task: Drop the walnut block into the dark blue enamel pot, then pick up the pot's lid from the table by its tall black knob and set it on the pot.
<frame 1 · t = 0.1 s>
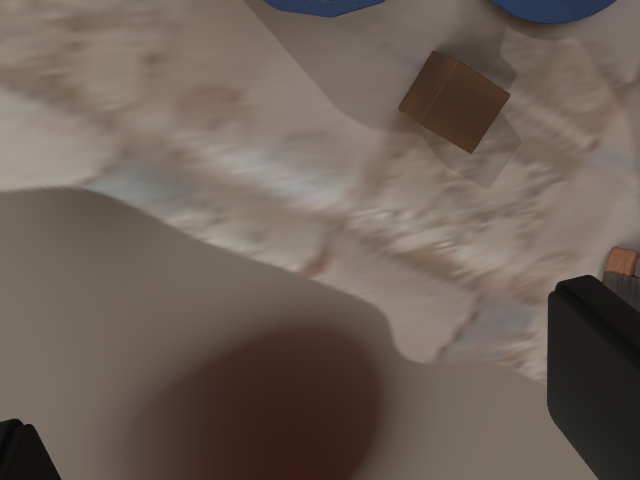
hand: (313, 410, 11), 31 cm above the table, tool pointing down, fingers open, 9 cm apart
block: (439, 95, 41), on the table
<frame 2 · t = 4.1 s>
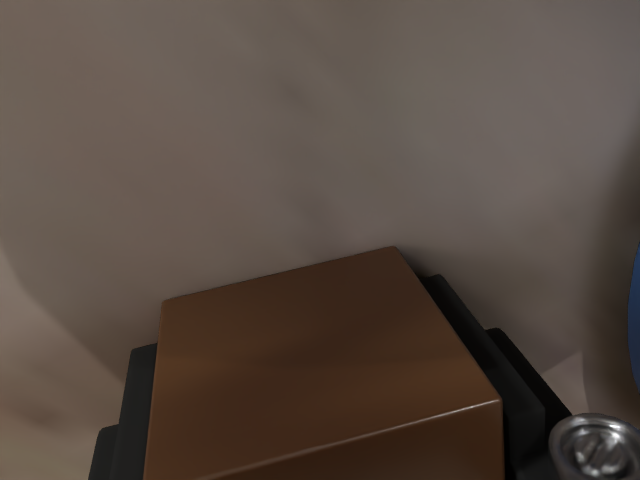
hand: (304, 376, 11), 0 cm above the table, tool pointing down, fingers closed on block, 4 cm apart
block: (301, 365, 12), on the table, touching gripper
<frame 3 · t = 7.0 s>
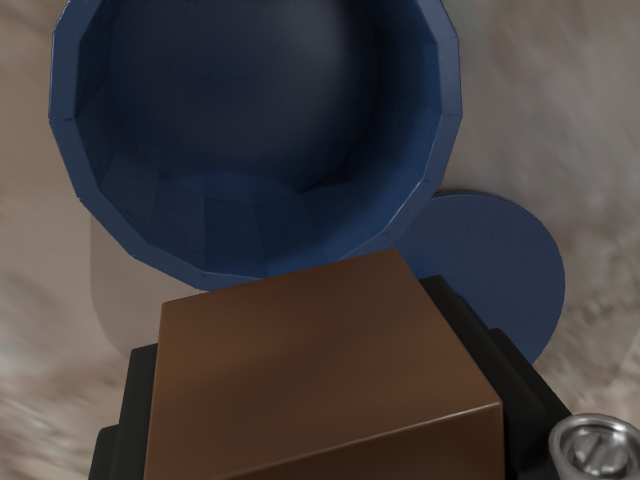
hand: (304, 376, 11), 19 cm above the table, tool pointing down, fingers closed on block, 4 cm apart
pot: (248, 76, 27), on the table
block: (302, 367, 12), point 19 cm above the table, touching gripper
lid: (441, 311, 34), point 1 cm above the table
when the fingers open (6 cm above the table, at t = 10.4 s): block drops 5 cm, resting on pot.
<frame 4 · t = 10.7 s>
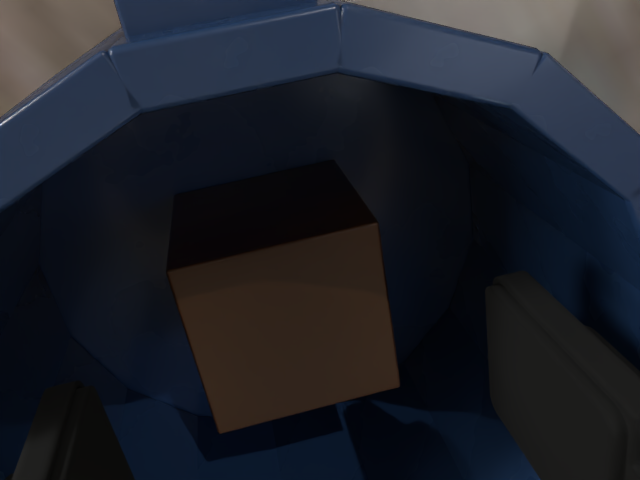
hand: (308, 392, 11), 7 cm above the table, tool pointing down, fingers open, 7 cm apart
pot: (268, 242, 17), on the table
block: (271, 248, 17), resting on pot
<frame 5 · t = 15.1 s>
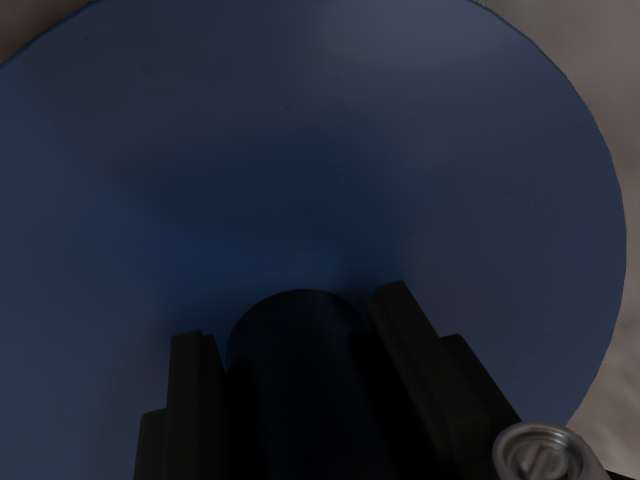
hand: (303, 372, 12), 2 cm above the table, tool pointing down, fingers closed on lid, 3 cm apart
lid: (294, 334, 13), point 1 cm above the table, touching gripper
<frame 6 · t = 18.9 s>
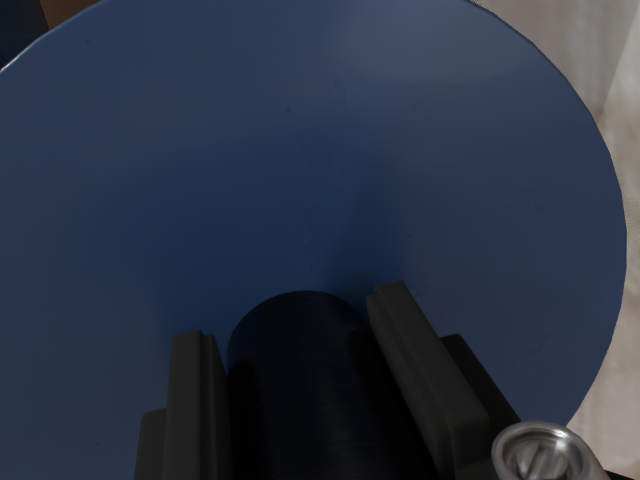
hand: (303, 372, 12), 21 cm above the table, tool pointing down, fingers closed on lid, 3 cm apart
lid: (294, 336, 13), point 20 cm above the table, touching gripper
when the fingers open (10 cm above the table, at t = 22.7 s): lid stays where it is, resting on pot.
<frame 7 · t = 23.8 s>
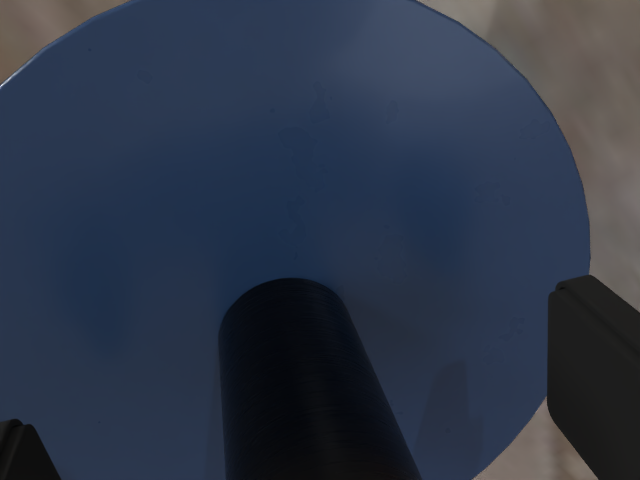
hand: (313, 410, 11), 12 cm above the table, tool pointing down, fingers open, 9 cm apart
lid: (282, 321, 14), point 8 cm above the table, touching pot
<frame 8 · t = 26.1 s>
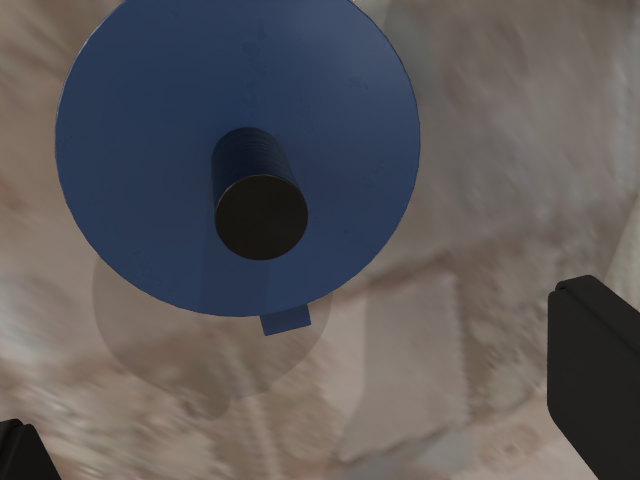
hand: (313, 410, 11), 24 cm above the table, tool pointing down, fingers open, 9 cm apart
pot: (236, 110, 32), on the table
lid: (247, 158, 25), point 8 cm above the table, touching pot
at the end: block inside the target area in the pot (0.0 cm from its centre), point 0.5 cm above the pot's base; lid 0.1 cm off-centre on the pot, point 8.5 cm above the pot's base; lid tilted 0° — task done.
